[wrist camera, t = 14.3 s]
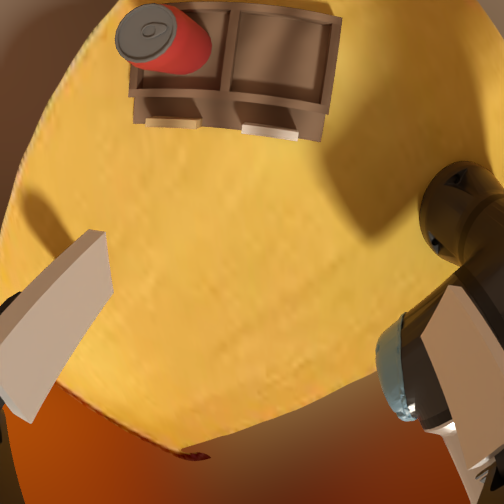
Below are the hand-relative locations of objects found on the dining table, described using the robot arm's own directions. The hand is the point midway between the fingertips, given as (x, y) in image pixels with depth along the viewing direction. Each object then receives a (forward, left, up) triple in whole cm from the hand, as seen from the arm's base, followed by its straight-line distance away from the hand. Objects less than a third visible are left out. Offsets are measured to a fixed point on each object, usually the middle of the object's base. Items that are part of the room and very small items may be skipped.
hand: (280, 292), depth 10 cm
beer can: (+12, -11, -27) cm, 32 cm away
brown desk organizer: (+7, -10, -28) cm, 30 cm away
